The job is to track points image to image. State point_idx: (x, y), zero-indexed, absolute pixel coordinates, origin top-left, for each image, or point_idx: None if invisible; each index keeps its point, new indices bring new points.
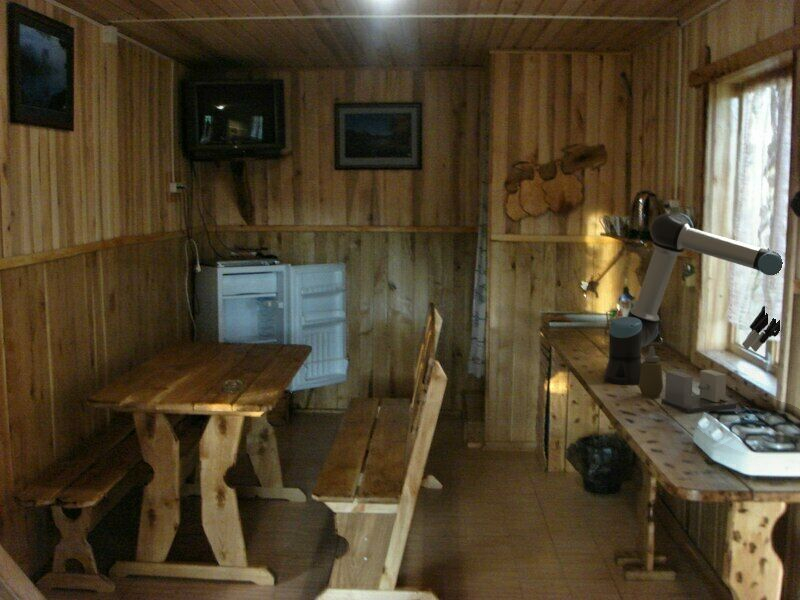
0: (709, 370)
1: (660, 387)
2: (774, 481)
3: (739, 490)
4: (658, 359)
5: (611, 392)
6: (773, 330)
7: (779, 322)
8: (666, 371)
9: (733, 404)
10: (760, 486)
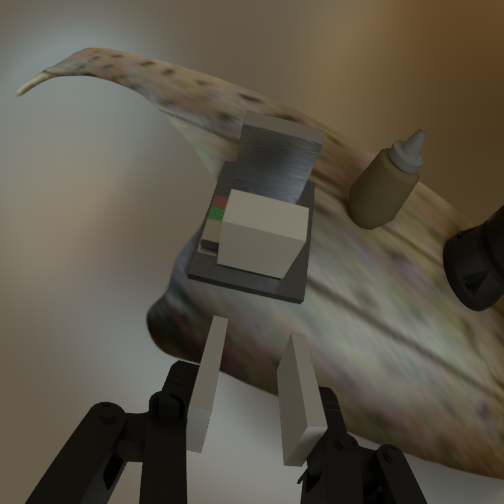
0: (297, 230)
1: (353, 199)
2: (29, 89)
3: (51, 66)
4: (397, 162)
5: None
6: (85, 416)
7: (42, 500)
8: (320, 130)
9: (190, 265)
10: (38, 78)
